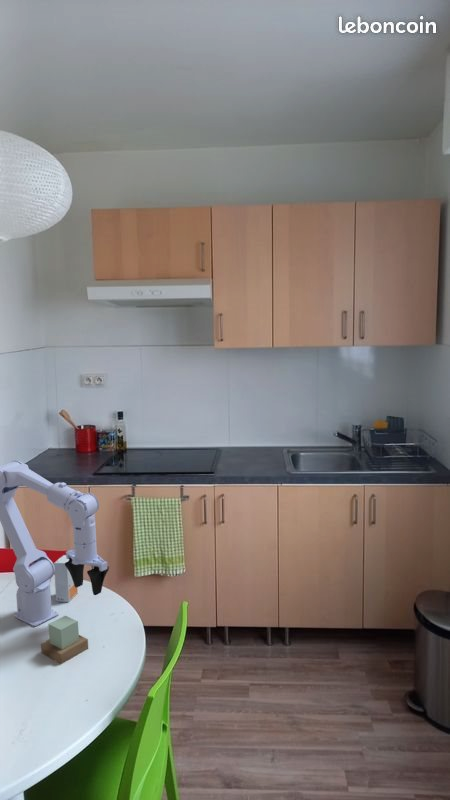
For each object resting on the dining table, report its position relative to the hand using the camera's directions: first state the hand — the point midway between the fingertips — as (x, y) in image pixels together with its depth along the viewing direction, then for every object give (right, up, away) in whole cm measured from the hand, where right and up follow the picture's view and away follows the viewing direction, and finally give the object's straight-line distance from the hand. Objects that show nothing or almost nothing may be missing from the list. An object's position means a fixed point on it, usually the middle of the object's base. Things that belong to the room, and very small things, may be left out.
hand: (87, 589), depth 150 cm
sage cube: (-3, -9, -10) cm, 14 cm away
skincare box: (-11, -9, +18) cm, 23 cm away
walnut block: (-3, -12, -10) cm, 16 cm away
